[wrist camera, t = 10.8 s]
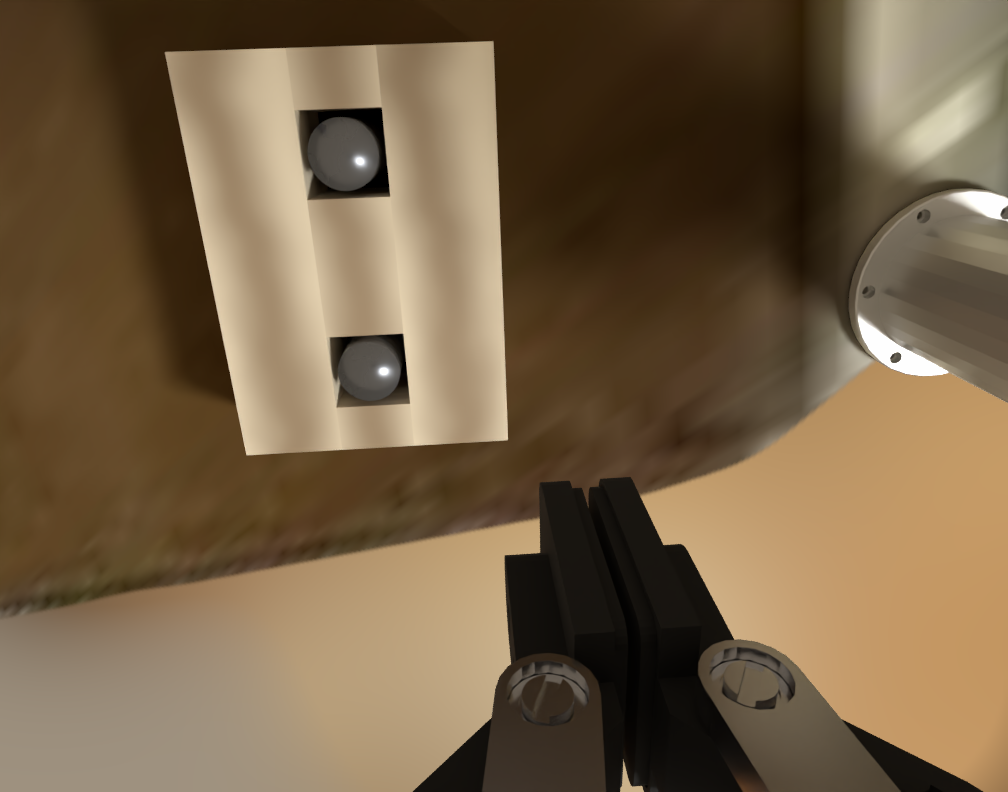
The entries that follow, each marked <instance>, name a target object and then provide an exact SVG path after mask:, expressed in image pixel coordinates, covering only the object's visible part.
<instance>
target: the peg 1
mask: <svg viewBox="0 0 1008 792" xmlns="http://www.w3.org/2000/svg"><path fill="white" fill-rule="evenodd" d="M307 152H308V160H309V163H310V166H311V168H312V170H313V172H314V174H315V175H316V176H317V177H318V179H319V180H320V181H321V182H323V183H324V184H325V185H327V186H329V187H331V188H333V189H336V190H340V191H352V190H356V189H358V188H361V187H362V186H364V185H366V184H367V183H369V182H370V181H372V180H373V179H375V178H376V177H377V176H379V175H380V174H381V173H382V171H383V170H384V168H385V167H386V164H387V157H386V146H385V136H384V134H383V133H382V131H381V130H380V129H379V128H378V127H377V126H376V125H375V124H374V123H372V122H370V121H368V120H366V119H363V118H350V117H335V118H330V119H328V120H325V121H324V122H322V123H321V124H319V125H318V126H317V127H316V128H315V129H314V131H313V132H312V134H311V136H310V139H309V142H308V150H307Z"/></svg>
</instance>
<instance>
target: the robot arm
mask: <svg viewBox="0 0 1008 792" xmlns="http://www.w3.org/2000/svg"><path fill="white" fill-rule="evenodd" d="M917 215H918V216H917ZM863 289H864V291H863ZM849 315H850V320H851V326H852V328H853V331H854V333H855V335H856V338H857V340H858V342H859V343H860V344H861V346H862V347H863V348H864V350H865V351H866V352H867V353H868V354H869V355H870V356H872V357H873V358H874V359H875V360H876V361H878V362H879V363H881V364H883V365H885V366H886V367H888V368H890V369H892V370H895V371H898V372H901V373H904V374H908V375H916V376H932V375H941V374H945V373H951V374H953V375H955V376H957V377H959V378H961V379H963V380H965V381H967V382H968V383H970V384H973V385H974V386H976V387H978V388H980V389H982V390H984V391H986V392H988V393H990V394H992V395H994V396H996V397H998V398H1000V399H1001V400H1003V401H1005V402H1008V197H1006V196H1005V195H1002V194H998V193H995V192H991V191H988V190H980V189H972V188H966V189H950V190H946V191H942V192H938V193H934V194H931V195H929V196H927V197H924V198H922V199H920V200H918V201H915V202H914V203H912V204H911V205H909V206H908V207H906V208H904V209H903V210H901V211H900V212H898V213H897V214H896V215H895V216H894V217H893V218H891V219H890V220H889V221H888V222H887V223H886V224H885V225H884V226H883V227H882V228H881V229H880V230H879V231H878V233H877V234H876V235H875V236H874V237H873V239H872V240H871V241H870V243H869V244H868V246H867V248H866V249H865V251H864V253H863V254H862V256H861V258H860V260H859V262H858V265H857V267H856V270H855V272H854V275H853V278H852V283H851V287H850V292H849ZM539 499H540V553H537V554H520V555H505V584H506V605H507V619H508V620H507V621H508V634H509V645H510V656H511V665H509V666H508V667H507V669H506V670H505V671H504V672H503V673H502V674H501V676H500V677H499V680H498V683H497V686H496V689H495V697H494V704H493V712H492V718H491V719H490V720H489V721H488V722H487V723H485V725H483V726H482V727H481V728H480V729H479V730H478V731H477V732H476V733H475V734H474V735H473V736H472V737H471V738H469V739H468V740H467V741H466V742H465V743H464V744H463V745H462V746H461V747H460V748H459V749H458V750H457V751H456V752H455V753H454V754H452V755H451V756H450V757H449V758H448V759H447V760H446V761H445V762H444V763H443V764H442V765H441V766H440V767H439V768H437V769H436V771H434V772H433V773H432V774H431V775H430V776H429V777H428V778H427V779H426V780H425V781H424V782H422V783H421V784H420V785H419V786H418V787H417V788H416V789H415V790H414V791H413V792H620V787H621V786H622V774H623V773H622V772H623V759H624V763H625V767H626V771H627V775H628V778H629V781H630V784H631V786H643V790H644V792H983V791H981V790H979V789H978V788H976V787H975V786H973V785H971V784H970V783H968V782H966V781H964V780H962V779H960V778H958V777H956V776H954V775H952V774H950V773H948V772H946V771H944V770H942V769H940V768H938V767H936V766H934V765H932V764H930V763H928V762H926V761H924V760H922V759H920V758H918V757H916V756H914V755H912V754H910V753H908V752H906V751H904V750H902V749H900V748H898V747H896V746H894V745H892V744H890V743H888V742H886V741H884V740H882V739H880V738H878V737H876V736H874V735H872V734H870V733H868V732H866V731H864V730H862V729H860V728H858V727H856V726H854V725H852V724H850V723H848V722H846V721H844V720H842V719H841V718H840V717H839V716H838V715H837V713H836V712H835V711H834V710H833V709H832V707H831V706H830V705H829V704H828V703H827V701H826V700H825V699H824V698H823V697H822V695H821V694H820V693H819V692H818V690H817V689H816V688H815V687H814V686H813V684H812V683H811V682H810V681H809V680H808V679H807V677H806V676H805V675H804V673H803V672H802V671H801V670H800V669H799V667H798V666H797V665H795V664H794V663H793V662H792V661H791V660H790V659H789V658H788V657H787V656H785V655H784V654H782V653H780V652H779V651H777V650H775V649H774V648H772V647H769V646H766V645H764V644H761V643H758V642H754V641H747V640H734V638H733V636H732V634H731V633H730V631H729V629H728V627H727V625H726V623H725V621H724V619H723V617H722V615H721V614H720V612H719V610H718V608H717V606H716V604H715V602H714V601H713V598H712V596H711V595H710V593H709V591H708V589H707V587H706V585H705V583H704V581H703V579H702V578H701V576H700V574H699V572H698V570H697V568H696V566H695V564H694V562H693V561H692V559H691V557H690V555H689V553H688V551H687V550H686V548H685V547H684V546H683V545H681V544H675V545H663V543H662V541H661V539H660V537H659V535H658V533H657V531H656V529H655V527H654V525H653V522H652V520H651V518H650V516H649V514H648V512H647V510H646V508H645V506H644V504H643V501H642V499H641V497H640V495H639V493H638V491H637V489H636V487H635V485H634V483H633V480H632V479H631V477H624V478H607V479H600V481H599V487H590V488H589V508H588V505H587V502H586V499H585V496H584V493H583V490H582V488H572V486H571V483H570V481H558V482H541V483H540V487H539Z"/></svg>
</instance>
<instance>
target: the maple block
mask: <svg viewBox="0 0 1008 792" xmlns="http://www.w3.org/2000/svg"><path fill="white" fill-rule="evenodd" d="M165 56H166V61H167V66H168V71H169V76H170V80H171V85H172V90H173V95H174V100H175V105H176V110H177V115H178V120H179V125H180V130H181V135H182V140H183V144H184V149H185V154H186V159H187V164H188V169H189V174H190V179H191V184H192V189H193V194H194V199H195V204H196V208H197V213H198V218H199V223H200V228H201V233H202V238H203V243H204V248H205V253H206V258H207V263H208V268H209V272H210V277H211V282H212V287H213V292H214V297H215V302H216V307H217V312H218V317H219V322H220V327H221V332H222V337H223V341H224V346H225V351H226V356H227V361H228V366H229V371H230V376H231V381H232V386H233V391H234V396H235V401H236V405H237V410H238V415H239V420H240V425H241V430H242V435H243V440H244V445H245V450H246V455H259V454H276V453H293V452H311V451H328V450H346V449H363V448H380V447H398V446H415V445H432V444H450V443H467V442H485V441H502V440H508V429H507V401H506V374H505V346H504V319H503V291H502V263H501V236H500V208H499V181H498V153H497V125H496V98H495V70H494V42H493V41H485V42H455V43H424V44H394V45H363V46H332V47H302V48H271V49H241V50H210V51H180V52H165ZM379 109H382V115H383V125H384V136H385V146H386V157H387V167H388V178H389V187H380V188H358V189H356V190H352V191H340V190H336V189H332V190H328V188H327V185H325V184H324V183H323V182H321V181H320V180H319V179H318V177H317V176H316V175H315V174H314V172H313V170H312V168H311V166H310V163H309V160H308V152H307V150H308V142H309V139H310V136H311V134H312V132H313V131H314V129H315V128H316V127H317V126H318V125H319V118H318V112H325V111H352V110H379ZM385 334H404V345H405V355H406V366H407V370H401V374H400V378H399V382H398V384H397V386H396V388H395V389H394V391H393V392H392V393H391V394H390V395H388V396H387V397H385V398H383V399H380V400H376V401H365V400H361V399H358V398H356V397H354V396H352V395H351V394H349V393H348V392H347V391H346V390H345V389H344V388H343V386H342V385H341V383H340V380H339V377H338V364H339V361H340V358H341V357H342V355H343V353H344V351H345V349H346V347H347V345H348V342H347V336H366V335H385Z"/></svg>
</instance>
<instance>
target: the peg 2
mask: <svg viewBox="0 0 1008 792" xmlns="http://www.w3.org/2000/svg"><path fill="white" fill-rule="evenodd" d="M404 357H405V345H404V334H385V335H366V336H352V337H351V339H350V341H349V343H348V345H347V347H346V349H345V351H344V353H343V355H342V357H341V358H340V361H339V364H338V377H339V380H340V383H341V385H342V386H343V388H344V389H345V390H346V391H347V392H348V393H349V394H351V395H352V396H354V397H356V398H358V399H361V400H365V401H376V400H380V399H383V398H385V397H387V396H388V395H390V394H391V393H392V392H393V391H394V389H395V388H396V386H397V384H398V382H399V378H400V374H401V370H402V366H403V362H404Z"/></svg>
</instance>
